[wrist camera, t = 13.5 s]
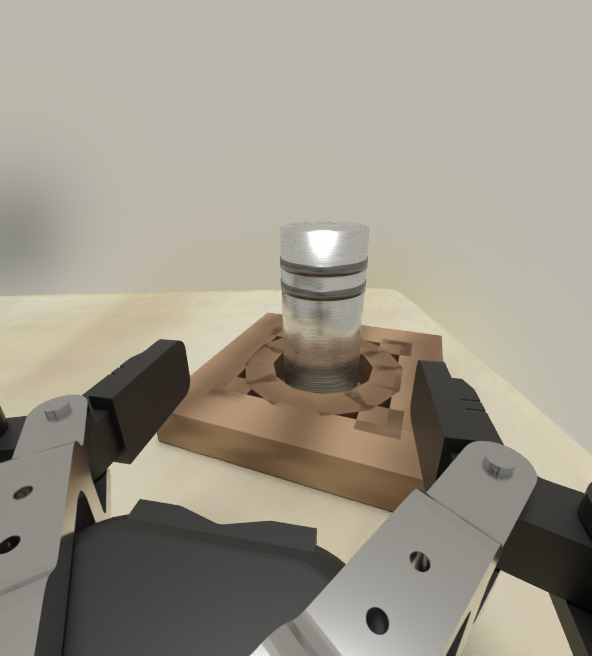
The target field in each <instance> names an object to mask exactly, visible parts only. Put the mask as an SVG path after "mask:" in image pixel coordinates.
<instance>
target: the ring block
mask: <svg viewBox="0 0 592 656" xmlns="http://www.w3.org/2000/svg"><path fill="white" fill-rule="evenodd" d="M418 360H429V361H442V362H443V355H442V337H441V336H439V335H431V334H424V333H416V332H409V331H401V330H394V329H386V328H379V327H371V326H364V325H362V330H361V343H360V356H359V369H358V382H360V383H362V385H360V386H359V387H357V388H355V389H353V390H351V391H348V392H339V393H330V394H317V393H312V392H307V391H302V390H298V389H293V388H292V387H290V386H289V385H287V384H286V383H285V382H283V380H284V344H283V315H281V314H273V313H267V314H265V315H264V316H263V317H262V318H260V319H259V320H258V321H257V322H256V323H254V324H253V325H252V326H251V327H249V328H248V329H247V330H246V331H245V332H243V333H242V334H241V335H240V336H238V337H237V338H236V339H235V340H234V341H232V342H231V343H230V344H229V345H227V346H226V347H225V348H224V349H223V350H221V351H220V352H219V353H218V354H216V355H215V356H214V357H213V358H212V359H210V360H209V361H208V362H207V363H205V364H204V365H203V366H202V367H200V368H199V369H198V370H197V371H196V372H194V373H193V374H192V375H191V376H190V388H189V391H188V393H187V395H186V397H185V398H184V399H183V400H182V402H181V403H180V404H179V405H178V406H177V408H176V409H175V410H174V411H173V413H172V414H171V415H170V416H169V417H168V419H167V420H166V421H165V422H164V424H163V425H162V426H161V427H160V429H159V430H158V431H157V435H158V439H159V441H161V442H164V443H167V444H171V445H174V446H177V447H181V448H184V449H187V450H190V451H194V452H197V453H200V454H204V455H207V456H210V457H213V458H217V459H220V460H223V461H227V462H230V463H233V464H237V465H240V466H243V467H246V468H250V469H253V470H256V471H260V472H263V473H266V474H269V475H273V476H276V477H279V478H283V479H286V480H289V481H292V482H296V483H299V484H302V485H306V486H309V487H312V488H316V489H319V490H322V491H325V492H329V493H332V494H335V495H339V496H342V497H345V498H348V499H352V500H355V501H358V502H362V503H365V504H368V505H372V506H375V507H378V508H381V509H385V510H388V511H391V512H394V511H395V510H396V509H397V508H398V507H399V505H400V504H401V503H402V502H403V501H404V500H405V499H406V498H407V497H408V495H409V494H410V493H411V492H413V491H414V490H415V489H418V488H419V489H421V490H423V491H424V492H425V488H424V483H423V478H422V473H421V468H420V463H419V458H418V453H417V448H416V443H415V438H414V433H413V428H412V423H411V417H410V405H411V397H412V391H413V384H414V378H415V372H416V366H417V362H418Z"/></svg>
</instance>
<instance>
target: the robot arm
mask: <svg viewBox="0 0 592 656" xmlns="http://www.w3.org/2000/svg"><path fill="white" fill-rule="evenodd" d="M189 388H190V374H189V368H188V362H187V356H186V349H185V345H184V343H183V342H182V341H177V340H164V339H160V340H158V341H157V342H155V343H154V344H153V345H152V346H150V347H149V348H148V349H147V350H145V351H144V352H142V353H140V354H138V355H136V356H134V357H131V358H130V359H128V360H127V361H126V362H125V363H123V364H122V365H121V366H120V368H117V369H115V370H114V371H113V372H112V373H111V375H110V374H109V375H108V376H106V377H105V378H104V379H103V380H101V381H100V382H99V383H97V384H96V385H95V386H93V387H92V388H91V389H90V390H88V391H87V392H86V393H84V394H83V395H82V396H80V395H66V396H61V397H57V398H54V399H51V400H49V401H46V402H44V403H42V404H40V405H39V406H37V407H36V408H34V409H33V410H32V411H31V412H30V413H29V414H28V416H21V417H12V418H5V415H4V413H3V411H2V409H1V407H0V656H461V654H462V652H463V649H464V647H465V645H466V643H467V640H468V638H469V636H470V634H471V632H472V630H473V628H474V626H475V624H476V622H477V620H478V618H479V616H480V614H481V612H482V610H483V608H484V606H485V604H486V602H487V600H488V598H489V596H490V594H491V592H492V590H493V588H494V586H495V584H496V582H497V580H498V577H499V575H500V573H501V571H504V572H506V573H508V574H510V575H512V576H515V577H517V578H519V579H521V580H523V581H525V582H527V583H530V584H532V585H534V586H536V587H538V588H540V589H542V590H545V591H547V592H549V595H550V597H551V600H552V602H553V605H554V607H555V610H556V612H557V615H558V618H559V620H560V623H561V625H562V628H563V630H564V633H565V635H566V638H567V640H568V643H569V646H570V648H571V651H572V653H573V656H592V482H591V483H590V484H589V486H588V488H587V490H586V492H585V493H582V492H579V491H576V490H573V489H570V488H567V487H564V486H562V485H559V484H556V483H553V482H550V481H547V480H545V479H542V478H540V477H538V476H537V474H536V471H535V469H534V467H533V466H532V465H531V463H530V462H529V461H528V460H527V459H526V458H525V457H523V456H522V455H521V454H519V453H518V452H516V451H515V450H513V449H511V448H509V447H507V446H504V444H503V442H502V441H501V439H500V437H499V435H498V433H497V431H496V429H495V427H494V425H493V424H492V422H491V420H490V418H489V416H488V414H487V413H485V409H484V407H483V405H482V403H480V399H479V397H478V395H477V393H476V392H475V390H474V389H473V388H472V387H471V386H470V385H469V384H467V383H466V382H465V381H464V380H463V379H457V378H451V376H450V373H449V371H448V369H447V367H446V364H445V363H444V362H442V361H429V360H418V362H417V366H416V372H415V378H414V384H413V391H412V397H411V405H410V417H411V423H412V428H413V433H414V438H415V443H416V448H417V453H418V458H419V463H420V468H421V473H422V478H423V483H424V488H425V492H424V491H423V490H421V489H419V488H418V489H415V490H414V491H413V492H411V493H410V494H409V495H408V497H407V498H406V499H405V500H404V501H403V502H402V503H401V504H400V505H399V507H398V508H397V509H396V510H395V511H394V512H393V513H392V514H391V515H390V516H389V518H388V519H387V520H386V521H385V522H384V523H383V524H382V525H381V526H380V528H379V529H378V530H377V531H376V532H375V533H374V534H373V535H372V536H371V537H370V539H369V540H368V541H367V542H366V543H365V544H364V545H363V546H362V547H361V549H360V550H359V551H358V552H357V553H356V554H355V555H354V556H353V557H352V559H351V560H350V561H349V562H348V563H347V564H345V563H344V562H342V561H341V560H340V559H339V558H338V557H336V556H335V555H333V554H331V553H330V552H328V551H327V550H325V549H323V548H321V547H319V546H317V528H311V527H305V526H299V525H293V524H287V523H281V522H275V521H261V522H249V523H237V524H217V523H214V522H212V521H210V520H208V519H206V518H204V517H202V516H200V515H198V514H196V513H194V512H192V511H190V510H188V509H186V508H184V507H182V506H179V505H173V504H167V503H161V502H155V501H149V500H143V499H140V500H139V501H138V502H137V504H136V505H135V507H134V508H133V510H132V511H131V512H130V514H128V515H122V516H117V517H112V518H111V474H110V470H109V466H110V465H111V464H112V463H113V462H118V463H125V464H131V463H132V462H133V461H134V459H135V458H136V457H137V456H138V454H139V453H140V452H141V451H142V449H143V448H144V447H145V446H146V445H147V443H148V442H149V441H150V440H151V438H152V437H153V436H154V435H155V433H156V432H157V431H158V430H159V429H160V427H161V426H162V425H163V424H164V422H165V421H166V420H167V419H168V417H169V416H170V415H171V414H172V413H173V411H174V410H175V409H176V408H177V406H178V405H179V404H180V403H181V402H182V400H183V399H184V398H185V397H186V395H187V393H188V391H189Z"/></svg>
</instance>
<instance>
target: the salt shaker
mask: <svg viewBox="0 0 592 656" xmlns="http://www.w3.org/2000/svg"><path fill="white" fill-rule="evenodd" d="M280 237H281V238H280V239H281V256H280V265H281V266H280V267H281V272H282V273H281V274H282V277H281V290H282V309H283V344H284V379H285V383H286V384H287V385H289V386H290V387H292V388H293V389H298V390H302V391H307V392H312V393H317V394H330V393H339V392H348V391H351V390H353V389H355V388H357V382H358V369H359V356H360V343H361V330H362V317H363V303H364V292H365V288H366V278H365V277H366V269H367V262H368V256H367V251H368V237H369V227H368V226H366V225H362V224H356V223H345V222H305V223H294V224H288V225H283V226H281V227H280Z"/></svg>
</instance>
